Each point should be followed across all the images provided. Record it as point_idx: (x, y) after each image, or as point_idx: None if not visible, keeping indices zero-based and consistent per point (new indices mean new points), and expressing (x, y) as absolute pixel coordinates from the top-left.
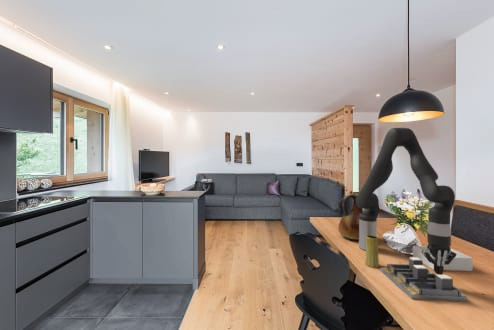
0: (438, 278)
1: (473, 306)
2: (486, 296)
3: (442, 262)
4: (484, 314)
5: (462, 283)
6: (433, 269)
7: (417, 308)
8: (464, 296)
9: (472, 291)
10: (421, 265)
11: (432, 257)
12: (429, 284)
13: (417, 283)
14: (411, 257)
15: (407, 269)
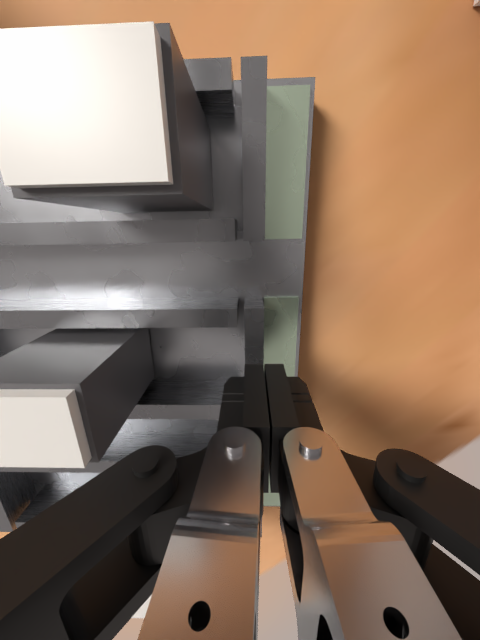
0: None
1: (275, 516)
2: (447, 446)
3: (302, 568)
4: (270, 555)
5: (469, 306)
6: (474, 2)
7: (8, 533)
8: (277, 503)
9: (421, 403)
10: (51, 405)
11: (181, 536)
12: (109, 466)
13: (20, 471)
14: (2, 42)
15: (21, 239)
